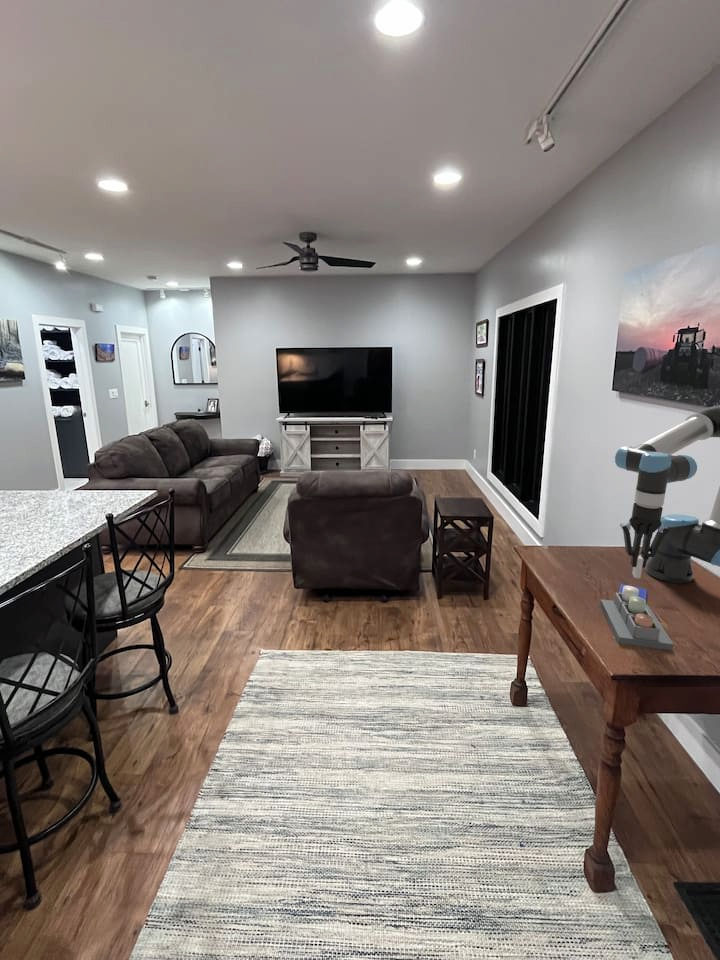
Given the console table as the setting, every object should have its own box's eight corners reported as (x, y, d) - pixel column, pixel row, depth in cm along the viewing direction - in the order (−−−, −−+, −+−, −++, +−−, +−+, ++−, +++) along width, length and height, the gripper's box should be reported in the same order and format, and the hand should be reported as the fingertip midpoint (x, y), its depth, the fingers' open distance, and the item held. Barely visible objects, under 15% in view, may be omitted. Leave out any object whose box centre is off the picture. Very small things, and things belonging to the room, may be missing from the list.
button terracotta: (648, 626, 141) (650, 614, 139) (653, 635, 136) (655, 622, 135) (631, 624, 141) (633, 612, 140) (636, 632, 137) (638, 620, 136)
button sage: (641, 609, 147) (643, 597, 146) (646, 616, 142) (648, 604, 141) (625, 607, 148) (627, 595, 146) (630, 614, 143) (632, 602, 142)
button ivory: (634, 597, 153) (636, 586, 152) (638, 604, 149) (640, 593, 148) (619, 596, 154) (621, 585, 153) (623, 603, 150) (625, 591, 149)
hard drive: (620, 583, 171) (617, 598, 160) (647, 589, 166) (646, 605, 156) (620, 587, 171) (617, 602, 161) (646, 593, 167) (645, 609, 157)
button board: (646, 610, 155) (649, 595, 154) (672, 650, 134) (676, 633, 133) (599, 604, 158) (602, 589, 157) (618, 643, 138) (621, 626, 136)
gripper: (667, 501, 144) (654, 572, 150) (620, 499, 147) (610, 568, 153) (677, 509, 137) (664, 583, 143) (628, 507, 140) (616, 579, 146)
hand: (636, 576), depth 148 cm, fingers closed
